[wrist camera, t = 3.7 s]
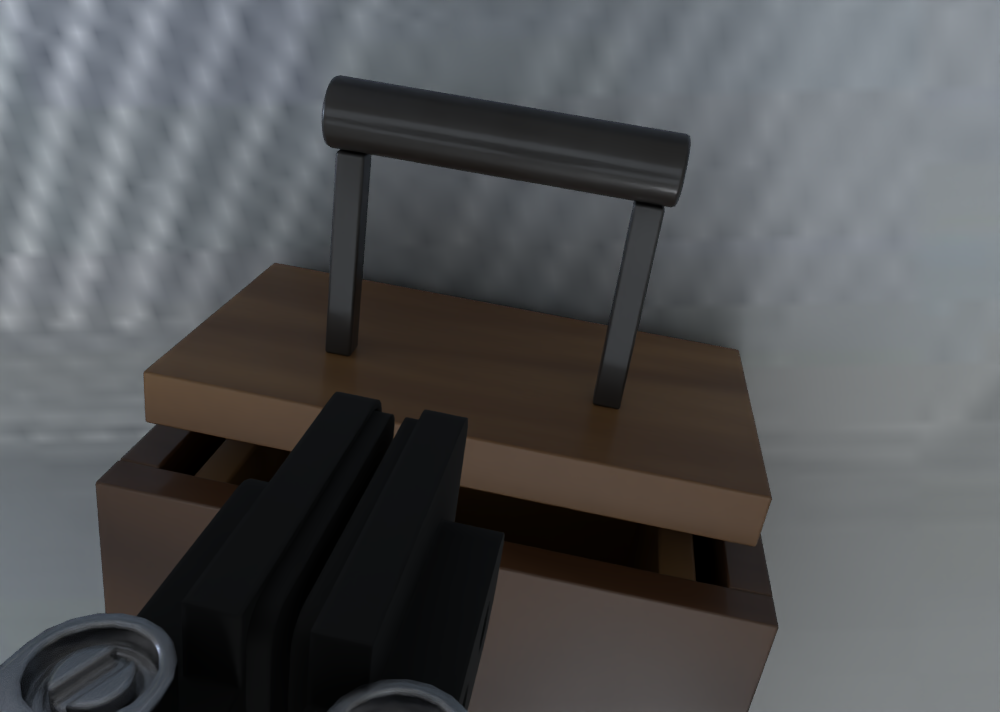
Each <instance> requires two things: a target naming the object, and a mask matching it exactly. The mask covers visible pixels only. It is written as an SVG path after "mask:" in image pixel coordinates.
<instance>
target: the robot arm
mask: <svg viewBox="0 0 1000 712" xmlns="http://www.w3.org/2000/svg"><path fill="white" fill-rule="evenodd" d="M394 427H395V417H394V415H393V414H389V413H384V412H382V406H381V402H380V400H378V399H373V398H368V397H363V396H358V395H353V394H348V393H343V392H335V393H334V394H333V395H332V397H331V398H330V399H329V401H328V402H327V403H326V405H325V406H324V408H323V409H322V410H321V412H320V413H319V414H318V416H317V417H316V418H315V420H314V421H313V423H312V424H311V425H310V427H309V428H308V429H307V431H306V432H305V433H304V435H303V436H302V438H301V439H300V440H299V442H298V443H297V444H296V446H295V447H294V449H293V450H292V451H291V453H290V454H289V455H288V457H287V458H286V459H285V461H284V462H283V464H282V465H281V466H280V468H279V469H278V470H277V472H276V473H275V474H274V476H273V477H272V479H271V480H270V481H269V482H266V481H261V480H256V479H252V478H250V479H247V480H244V481H243V482H242V483H241V484H240V485H239V486H238V487H237V488H236V490H235V491H234V492H233V493H232V495H231V496H230V497H229V499H228V500H227V501H226V502H225V504H224V505H223V506H222V508H221V509H220V510H219V511H218V513H217V514H216V515H215V516H214V518H213V519H212V520H211V522H210V523H209V524H208V525H207V527H206V528H205V529H204V530H203V532H202V533H201V534H200V536H199V537H198V538H197V539H196V541H195V542H194V543H193V545H192V546H191V547H190V548H189V550H188V551H187V552H186V553H185V555H184V556H183V557H182V559H181V560H180V561H179V562H178V564H177V565H176V566H175V568H174V569H173V570H172V571H171V573H170V574H169V575H168V576H167V578H166V579H165V580H164V582H163V583H162V584H161V585H160V587H159V588H158V589H157V590H156V592H155V593H154V594H153V596H152V597H151V598H150V599H149V601H148V602H147V603H146V605H145V606H144V607H143V608H142V610H141V611H140V612H139V613H138V615H137V616H133V615H128V614H124V613H97V614H93V615H88V616H83V617H78V618H73V619H70V620H68V621H65V622H63V623H61V624H58V625H56V626H53V627H51V628H49V629H46V630H45V631H44V632H42V633H41V634H39V635H38V636H36V637H35V638H33V639H32V640H30V641H29V642H27V643H26V644H25V645H23V646H22V647H21V648H20V649H19V650H18V651H16V652H15V653H14V654H13V655H12V656H11V657H9V658H8V659H7V660H6V661H5V662H4V663H2V664H1V665H0V712H468V707H469V703H470V699H471V695H472V691H473V687H474V683H475V679H476V675H477V671H478V667H479V663H480V659H481V655H482V651H483V647H484V643H485V638H486V634H487V629H488V625H489V620H490V615H491V610H492V605H493V600H494V595H495V590H496V584H497V579H498V573H499V567H500V562H501V556H502V550H503V544H504V533H503V532H499V531H494V530H489V529H485V528H480V527H475V526H471V525H466V524H461V523H457V522H455V516H456V509H457V502H458V495H459V488H460V480H461V473H462V466H463V459H464V452H465V445H466V438H467V430H468V418H466V417H461V416H456V415H451V414H446V413H442V412H437V411H432V410H427V409H425V410H424V411H423V412H422V414H421V416H420V418H419V419H414V418H409V417H405V419H404V420H403V422H402V424H401V426H400V427H399V429H398V431H397V433H396V435H395V437H394ZM393 437H394V438H393Z"/></svg>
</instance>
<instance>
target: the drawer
mask: <svg viewBox="0 0 1000 712" xmlns="http://www.w3.org/2000/svg"><path fill="white" fill-rule="evenodd" d="M322 131H323V137H324V140H325V142H326V144H327V145H328V146H330V147H332V148H337V149H340V150H339V151H337V153H336V165H335V183H334V201H333V219H332V237H331V255H330V273H327V272H321V271H316V270H311V269H305V268H300V267H295V266H289V265H284V264H279V263H274V264H272V265H271V266H270V267H269V268H268V269H266V270H265V271H264V272H263V273H262V274H260V275H259V276H258V277H257V278H256V279H254V280H253V281H252V282H251V283H250V284H248V285H247V286H246V287H245V288H244V289H242V290H241V291H240V292H239V293H238V294H236V295H235V296H234V297H233V298H232V299H230V300H229V301H228V302H227V303H226V304H224V305H223V306H222V307H221V308H220V309H218V310H217V311H216V312H215V313H214V314H212V315H211V316H210V317H209V318H208V319H206V320H205V321H204V322H203V323H202V324H200V325H199V326H198V327H197V328H196V329H194V330H193V331H192V332H191V333H190V334H188V335H187V336H186V337H185V338H184V339H182V340H181V341H180V342H179V343H178V344H176V345H175V346H174V347H173V348H172V349H170V350H169V351H168V352H167V353H166V354H164V355H163V356H162V357H161V358H160V359H158V360H157V361H156V362H155V363H154V364H152V365H151V366H150V367H149V368H148V369H146V370H145V371H144V395H145V417H146V422H149V423H154V424H159V425H164V426H168V427H173V428H178V429H183V430H188V431H193V432H198V433H203V434H207V435H212V436H217V437H222V438H227V439H226V440H225V441H224V442H223V443H222V444H221V446H220V447H219V448H218V449H217V450H216V451H215V453H214V454H213V455H212V456H211V457H210V458H209V459H208V461H207V462H206V463H205V464H204V465H203V466H202V468H201V469H200V470H199V471H198V472H197V473H196V474H195V476H197V477H202V478H206V479H211V480H216V481H221V482H225V483H230V484H235V485H240V484H241V483H242V482H243V481H244V480H247V479H250V478H252V479H256V480H261V481H266V482H269V481H270V480H271V479H272V477H273V476H274V474H275V473H276V472H277V470H278V469H279V468H280V466H281V465H282V464H283V462H284V461H285V459H286V458H287V457H288V455H289V454H290V453H291V451H292V450H293V449H294V447H295V446H296V444H297V443H298V442H299V440H300V439H301V438H302V436H303V435H304V433H305V432H306V431H307V429H308V428H309V427H310V425H311V424H312V423H313V421H314V420H315V418H316V417H317V416H318V414H319V413H320V412H321V410H322V409H323V408H324V406H325V405H326V403H327V402H328V401H329V399H330V398H331V397H332V395H333V394H334V393H335V392H343V393H348V394H353V395H358V396H363V397H368V398H373V399H378V400H380V402H381V406H382V412H384V413H389V414H393V415H394V417H395V427H394V437H395V435H396V433H397V431H398V429H399V427H400V426H401V424H402V422H403V420H404V419H405V417H409V418H414V419H419V418H420V416H421V414H422V412H423V411H424V410H425V409H427V410H432V411H437V412H442V413H446V414H451V415H456V416H461V417H466V418H468V430H467V438H466V445H465V452H464V459H463V466H462V473H461V480H460V488H459V495H458V502H457V509H456V516H455V522H457V523H461V524H466V525H471V526H475V527H480V528H485V529H489V530H494V531H499V532H503V533H504V541H507V542H512V543H517V544H521V545H526V546H531V547H536V548H540V549H545V550H550V551H555V552H559V553H564V554H569V555H574V556H579V557H583V558H588V559H593V560H598V561H602V562H607V563H612V564H617V565H621V566H626V567H631V568H636V569H641V570H645V571H650V572H655V573H660V574H664V575H669V576H674V577H679V578H683V579H688V580H693V581H696V572H695V558H694V545H693V534H694V535H699V536H704V537H709V538H714V539H719V540H723V541H728V542H733V543H738V544H743V545H748V546H753V547H755V546H756V545H757V542H758V539H759V536H760V533H761V530H762V527H763V524H764V521H765V518H766V515H767V512H768V509H769V506H770V503H771V500H772V497H771V492H770V488H769V483H768V479H767V474H766V470H765V465H764V461H763V456H762V452H761V448H760V443H759V439H758V434H757V430H756V425H755V421H754V416H753V412H752V407H751V403H750V398H749V394H748V390H747V385H746V381H745V376H744V372H743V367H742V363H741V358H740V354H739V350H736V349H731V348H726V347H720V346H715V345H710V344H705V343H699V342H694V341H689V340H683V339H678V338H673V337H667V336H662V335H657V334H651V333H646V332H641V331H638V326H639V322H640V318H641V313H642V309H643V304H644V300H645V295H646V291H647V287H648V282H649V278H650V273H651V269H652V265H653V260H654V256H655V251H656V247H657V242H658V238H659V234H660V229H661V225H662V220H663V216H664V212H665V211H664V206H666V207H675V206H676V204H677V202H678V200H679V197H680V194H681V191H682V187H683V183H684V179H685V174H686V170H687V165H688V159H689V153H690V146H691V140H690V136H689V135H687V134H684V133H678V132H672V131H666V130H660V129H654V128H648V127H642V126H636V125H631V124H625V123H619V122H613V121H607V120H601V119H595V118H589V117H583V116H577V115H571V114H566V113H560V112H554V111H548V110H542V109H536V108H530V107H524V106H518V105H512V104H506V103H501V102H495V101H489V100H483V99H477V98H471V97H465V96H459V95H453V94H447V93H441V92H435V91H430V90H424V89H418V88H412V87H406V86H400V85H394V84H388V83H382V82H376V81H370V80H365V79H359V78H353V77H347V76H341V75H340V76H336V77H334V78H333V79H332V80H331V82H330V84H329V86H328V88H327V91H326V94H325V98H324V103H323V110H322ZM371 155H376V156H382V157H388V158H393V159H399V160H405V161H410V162H416V163H422V164H427V165H433V166H439V167H444V168H450V169H456V170H462V171H467V172H473V173H479V174H484V175H490V176H496V177H501V178H507V179H513V180H518V181H524V182H530V183H535V184H541V185H547V186H552V187H558V188H564V189H569V190H575V191H581V192H586V193H592V194H598V195H604V196H609V197H615V198H621V199H626V200H632V201H634V203H633V208H632V213H631V217H630V222H629V227H628V232H627V236H626V241H625V246H624V251H623V256H622V260H621V265H620V270H619V275H618V279H617V284H616V289H615V294H614V299H613V303H612V308H611V313H610V318H609V322H608V325H603V324H598V323H593V322H587V321H582V320H577V319H571V318H566V317H561V316H555V315H550V314H545V313H540V312H534V311H529V310H524V309H518V308H513V307H508V306H502V305H497V304H492V303H486V302H481V301H476V300H470V299H465V298H460V297H454V296H449V295H444V294H438V293H433V292H428V291H422V290H417V289H412V288H406V287H401V286H396V285H390V284H385V283H380V282H375V281H369V280H364V279H362V278H363V264H364V250H365V237H366V223H367V209H368V196H369V182H370V168H371ZM394 437H393V438H394Z"/></svg>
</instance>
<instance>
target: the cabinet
mask: <svg viewBox="0 0 1000 712" xmlns="http://www.w3.org/2000/svg"><path fill="white" fill-rule="evenodd" d="M226 439H227V438H222V437H217V436H212V435H207V434H203V433H198V432H193V431H188V430H183V429H178V428H173V427H168V426H164V425H159V424H156V425H155V426H154V427H153V428H152V429H151V430H150V431H149V432H148V433H147V434H146V435H145V436H144V437H143V438H142V439H141V440H140V441H139V442H138V443H137V444H136V445H135V446H133V447H132V448H131V449H130V450H129V451H128V452H127V453H126V454H125V455H124V456H123V457H122V458H121V460H120V461H117V462H116V463H115V464H114V465H113V466H112V467H111V468H110V469H109V470H108V471H107V472H106V473H105V474H104V475H103V476H102V477H101V478H100V479H99V480H98V481H97V482H96V495H97V508H98V521H99V534H100V547H101V560H102V573H103V585H104V598H105V611H106V613H124V614H128V615H133V616H137V615H138V613H139V612H140V611H141V610H142V608H143V607H144V606H145V605H146V603H147V602H148V601H149V599H150V598H151V597H152V596H153V594H154V593H155V592H156V590H157V589H158V588H159V587H160V585H161V584H162V583H163V582H164V580H165V579H166V578H167V576H168V575H169V574H170V573H171V571H172V570H173V569H174V568H175V566H176V565H177V564H178V562H179V561H180V560H181V559H182V557H183V556H184V555H185V553H186V552H187V551H188V550H189V548H190V547H191V546H192V545H193V543H194V542H195V541H196V539H197V538H198V537H199V536H200V534H201V533H202V532H203V530H204V529H205V528H206V527H207V525H208V524H209V523H210V522H211V520H212V519H213V518H214V516H215V515H216V514H217V513H218V511H219V510H220V509H221V508H222V506H223V505H224V504H225V502H226V501H227V500H228V499H229V497H230V496H231V495H232V493H233V492H234V491H235V490H236V488H237V487H238V486H239V485H235V484H230V483H225V482H221V481H216V480H211V479H206V478H202V477H197V476H195V474H196V473H197V472H198V471H199V470H200V469H201V468H202V466H203V465H204V464H205V463H206V462H207V461H208V459H209V458H210V457H211V456H212V455H213V454H214V453H215V451H216V450H217V449H218V448H219V447H220V446H221V444H222V443H223V442H224V441H225V440H226ZM693 545H694V558H695V572H696V581H693V580H688V579H683V578H679V577H674V576H669V575H664V574H660V573H655V572H650V571H645V570H641V569H636V568H631V567H626V566H621V565H617V564H612V563H607V562H602V561H598V560H593V559H588V558H583V557H579V556H574V555H569V554H564V553H559V552H555V551H550V550H545V549H540V548H536V547H531V546H526V545H521V544H517V543H512V542H507V541H504V544H503V550H502V556H501V562H500V567H499V573H498V579H497V584H496V590H495V595H494V600H493V605H492V610H491V615H490V620H489V625H488V629H487V634H486V638H485V643H484V647H483V651H482V655H481V659H480V663H479V667H478V671H477V675H476V679H475V683H474V687H473V691H472V695H471V699H470V703H469V707H468V712H748V710H749V707H750V705H751V702H752V699H753V696H754V694H755V691H756V688H757V685H758V683H759V680H760V677H761V674H762V672H763V669H764V666H765V663H766V661H767V658H768V655H769V652H770V650H771V647H772V644H773V641H774V638H775V636H776V633H777V630H778V623H777V617H776V612H775V607H774V602H773V598H772V597H773V596H772V591H771V586H770V581H769V575H768V570H767V565H766V560H765V554H764V549H763V544H762V539H761V533H760V536H759V539H758V542H757V545H756V546H755V547H753V546H748V545H743V544H738V543H733V542H728V541H723V540H719V539H714V538H709V537H704V536H699V535H694V534H693Z"/></svg>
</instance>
